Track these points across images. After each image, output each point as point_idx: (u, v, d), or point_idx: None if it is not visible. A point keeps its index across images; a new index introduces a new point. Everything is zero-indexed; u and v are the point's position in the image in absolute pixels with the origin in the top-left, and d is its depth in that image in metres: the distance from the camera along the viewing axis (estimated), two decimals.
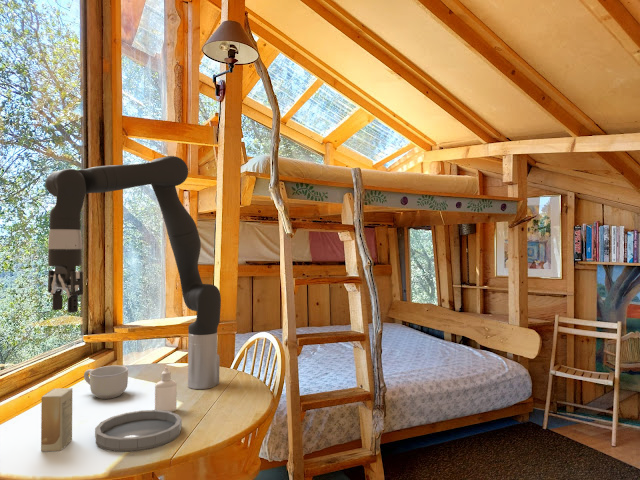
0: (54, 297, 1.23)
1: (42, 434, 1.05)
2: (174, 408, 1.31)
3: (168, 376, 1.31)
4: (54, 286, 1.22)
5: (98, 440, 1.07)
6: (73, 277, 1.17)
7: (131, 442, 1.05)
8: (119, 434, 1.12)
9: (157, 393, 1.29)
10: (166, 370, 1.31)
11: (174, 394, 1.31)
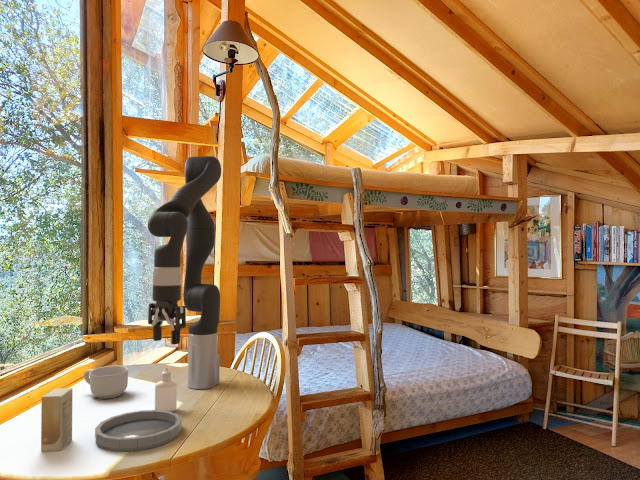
0: (155, 329, 1.33)
1: (42, 434, 1.05)
2: (174, 408, 1.31)
3: (168, 376, 1.31)
4: (156, 319, 1.32)
5: (98, 440, 1.07)
6: (178, 312, 1.27)
7: (131, 442, 1.05)
8: (119, 434, 1.12)
9: (157, 393, 1.29)
10: (166, 370, 1.31)
11: (174, 394, 1.31)
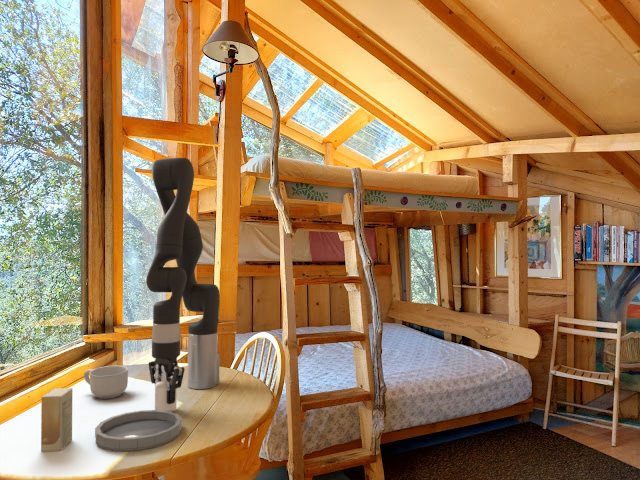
0: None
1: (42, 434, 1.05)
2: (174, 408, 1.31)
3: None
4: (158, 376, 1.31)
5: (98, 440, 1.07)
6: (176, 375, 1.27)
7: (131, 442, 1.05)
8: (119, 434, 1.12)
9: (157, 393, 1.29)
10: None
11: None
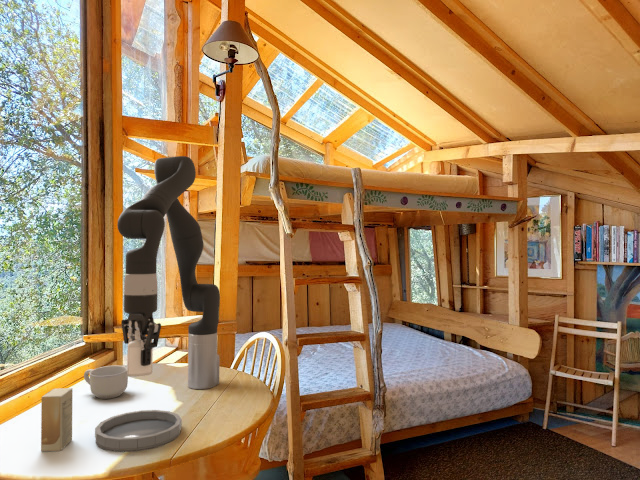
0: None
1: (42, 434, 1.05)
2: (149, 371, 1.14)
3: None
4: (131, 335, 1.14)
5: (98, 440, 1.07)
6: (151, 331, 1.10)
7: (131, 442, 1.05)
8: (119, 434, 1.12)
9: (130, 353, 1.12)
10: None
11: None
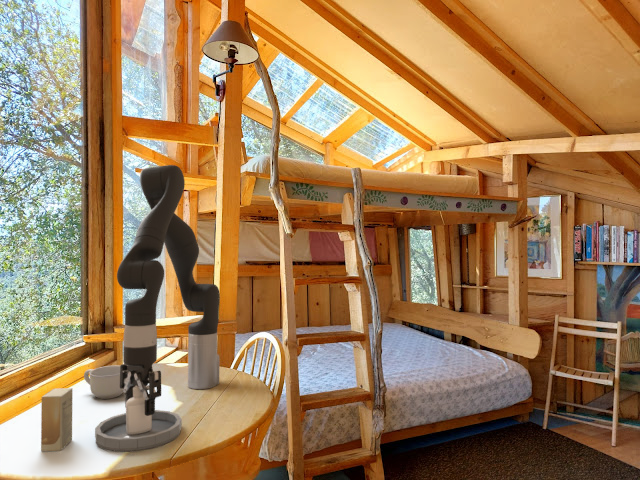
0: (127, 395, 1.16)
1: (42, 434, 1.05)
2: (149, 427, 1.14)
3: (141, 392, 1.13)
4: (128, 384, 1.15)
5: (98, 440, 1.07)
6: (152, 379, 1.09)
7: (131, 442, 1.05)
8: (119, 434, 1.12)
9: (129, 412, 1.12)
10: None
11: None
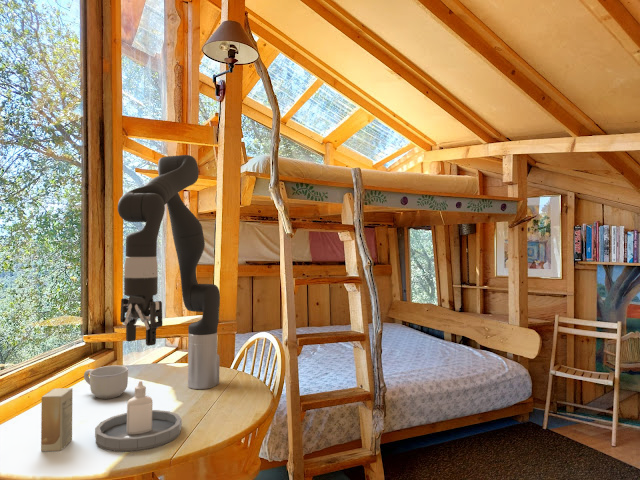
0: (128, 328, 1.16)
1: (42, 434, 1.05)
2: (149, 428, 1.14)
3: (143, 392, 1.14)
4: (129, 316, 1.15)
5: (98, 440, 1.07)
6: (153, 308, 1.10)
7: (131, 442, 1.05)
8: (119, 434, 1.12)
9: (130, 411, 1.12)
10: (141, 385, 1.14)
11: (150, 412, 1.14)
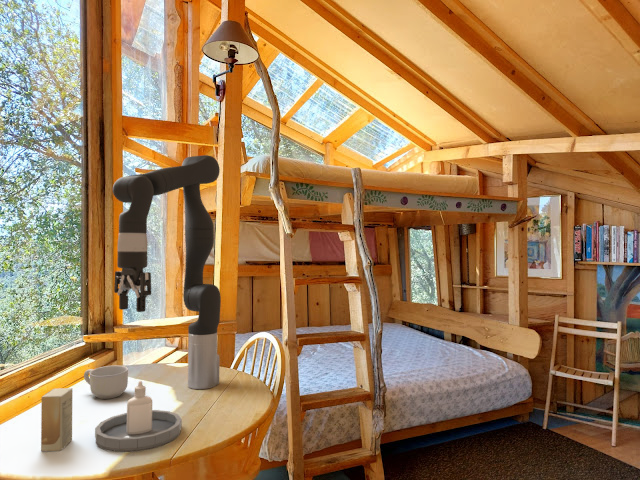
0: (121, 297, 1.30)
1: (42, 434, 1.05)
2: (149, 428, 1.14)
3: (143, 392, 1.14)
4: (122, 287, 1.28)
5: (98, 440, 1.07)
6: (143, 278, 1.23)
7: (131, 442, 1.05)
8: (119, 434, 1.12)
9: (130, 412, 1.12)
10: (140, 385, 1.14)
11: (149, 412, 1.14)
